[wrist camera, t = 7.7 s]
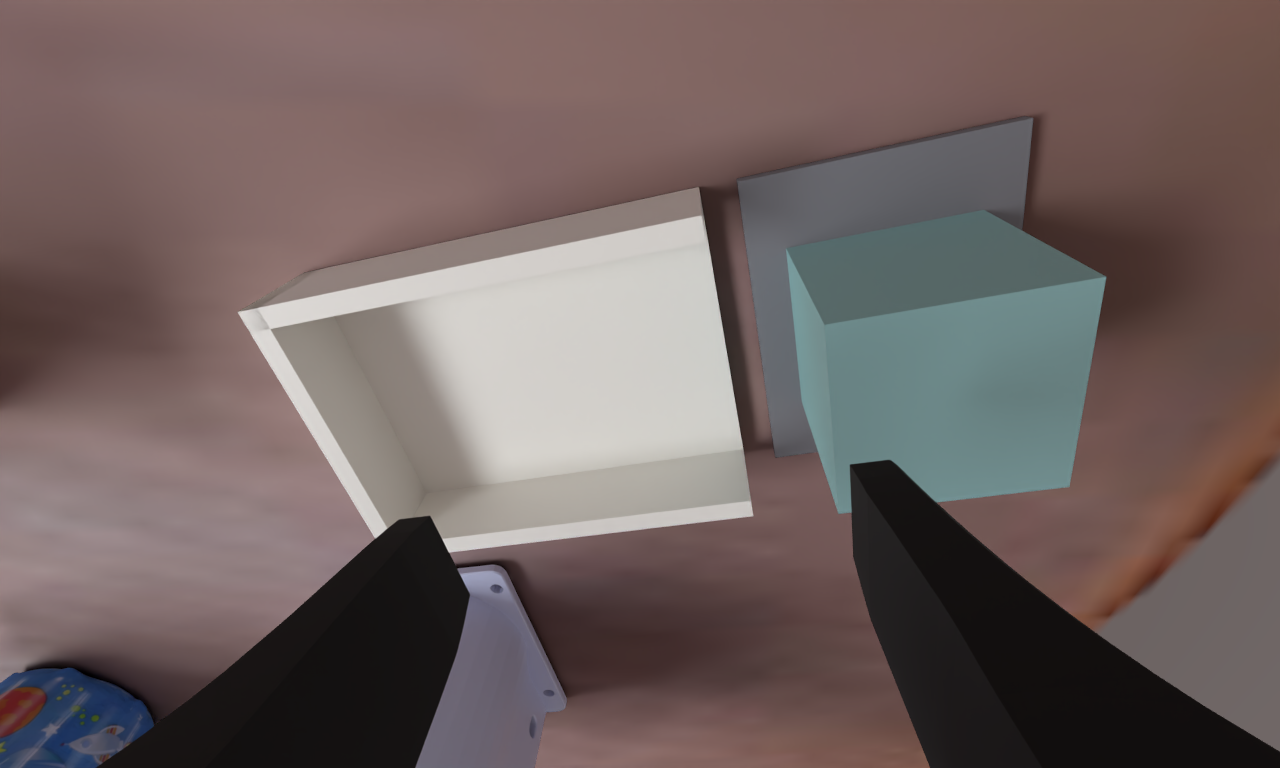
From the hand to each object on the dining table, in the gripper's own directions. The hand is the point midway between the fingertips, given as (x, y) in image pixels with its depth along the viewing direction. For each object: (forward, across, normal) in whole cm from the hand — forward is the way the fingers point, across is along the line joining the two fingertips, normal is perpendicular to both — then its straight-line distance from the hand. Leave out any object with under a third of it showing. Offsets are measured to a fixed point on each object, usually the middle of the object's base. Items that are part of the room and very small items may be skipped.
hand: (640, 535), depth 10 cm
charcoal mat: (+9, -6, +1) cm, 11 cm away
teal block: (+8, -6, +1) cm, 10 cm away
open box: (+9, +4, +1) cm, 10 cm away
